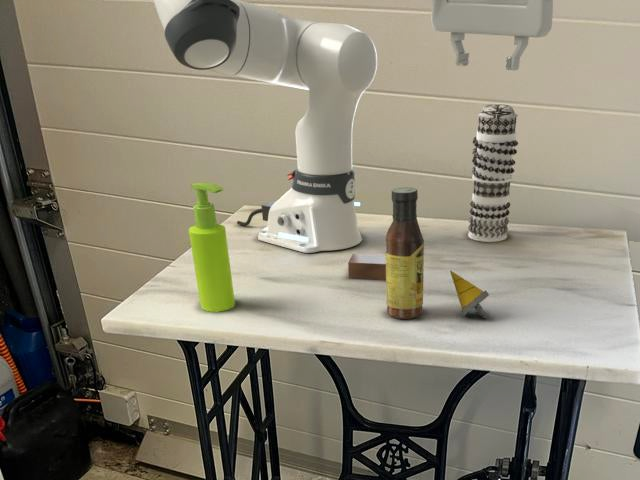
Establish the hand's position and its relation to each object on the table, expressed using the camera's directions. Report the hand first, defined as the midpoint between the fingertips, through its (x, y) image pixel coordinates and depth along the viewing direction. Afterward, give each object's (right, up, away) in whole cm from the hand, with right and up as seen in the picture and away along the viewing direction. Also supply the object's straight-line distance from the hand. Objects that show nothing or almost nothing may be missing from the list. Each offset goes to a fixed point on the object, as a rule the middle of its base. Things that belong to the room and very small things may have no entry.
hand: (486, 67), depth 119 cm
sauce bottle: (-13, -39, +6) cm, 41 cm away
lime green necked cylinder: (-45, -37, +8) cm, 59 cm away
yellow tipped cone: (-3, -39, +5) cm, 40 cm away
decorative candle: (+6, -13, +40) cm, 42 cm away
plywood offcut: (-19, -27, +21) cm, 39 cm away
